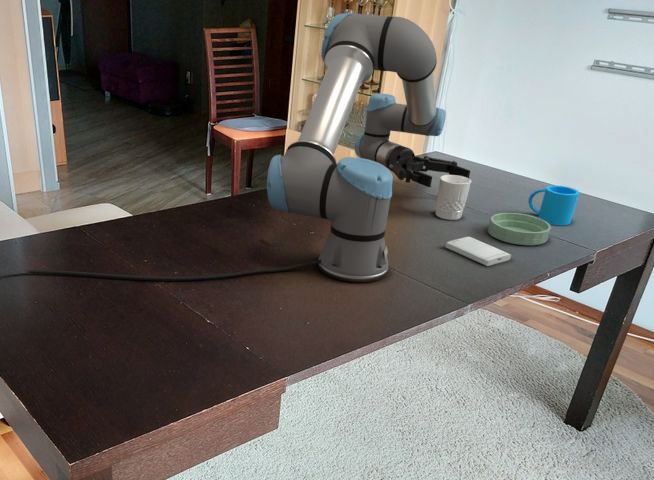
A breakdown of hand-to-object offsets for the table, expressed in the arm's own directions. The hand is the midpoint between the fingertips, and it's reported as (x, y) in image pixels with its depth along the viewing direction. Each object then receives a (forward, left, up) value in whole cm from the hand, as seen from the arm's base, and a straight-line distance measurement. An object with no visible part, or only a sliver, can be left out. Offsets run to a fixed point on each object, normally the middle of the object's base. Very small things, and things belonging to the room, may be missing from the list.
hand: (449, 178), depth 179 cm
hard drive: (+1, -28, -10) cm, 29 cm away
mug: (+28, -1, -10) cm, 30 cm away
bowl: (+15, -15, -10) cm, 23 cm away
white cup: (+1, -2, -10) cm, 10 cm away
